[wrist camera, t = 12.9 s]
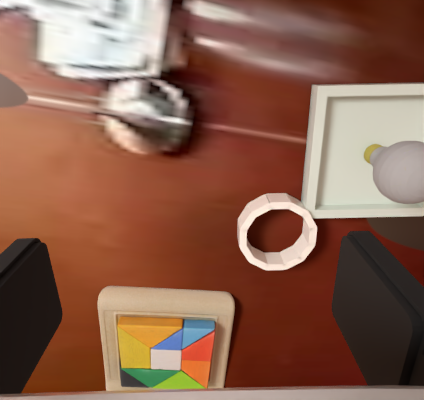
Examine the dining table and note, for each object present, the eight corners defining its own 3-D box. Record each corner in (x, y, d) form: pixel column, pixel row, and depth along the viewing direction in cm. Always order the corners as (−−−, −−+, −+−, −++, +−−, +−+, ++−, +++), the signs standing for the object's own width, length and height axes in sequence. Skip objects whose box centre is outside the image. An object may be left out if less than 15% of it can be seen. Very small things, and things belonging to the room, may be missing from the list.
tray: (311, 84, 33) (318, 85, 32) (450, 81, 34) (464, 83, 32) (300, 211, 39) (304, 218, 37) (419, 208, 39) (430, 215, 37)
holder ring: (238, 194, 38) (240, 203, 35) (313, 192, 38) (320, 201, 36) (237, 258, 41) (238, 270, 39) (306, 257, 41) (312, 269, 39)
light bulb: (406, 133, 35) (476, 159, 26) (383, 181, 37) (440, 220, 28) (357, 120, 34) (411, 141, 25) (337, 169, 36) (380, 206, 27)
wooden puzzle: (107, 385, 50) (100, 408, 47) (100, 282, 43) (92, 300, 40) (222, 390, 51) (223, 412, 48) (235, 289, 44) (237, 307, 40)
